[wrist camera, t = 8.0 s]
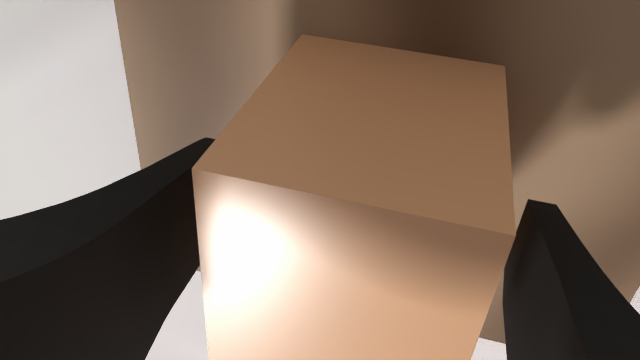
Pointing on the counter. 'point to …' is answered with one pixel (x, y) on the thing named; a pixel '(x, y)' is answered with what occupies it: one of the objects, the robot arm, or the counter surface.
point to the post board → (437, 39)
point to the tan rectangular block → (357, 208)
